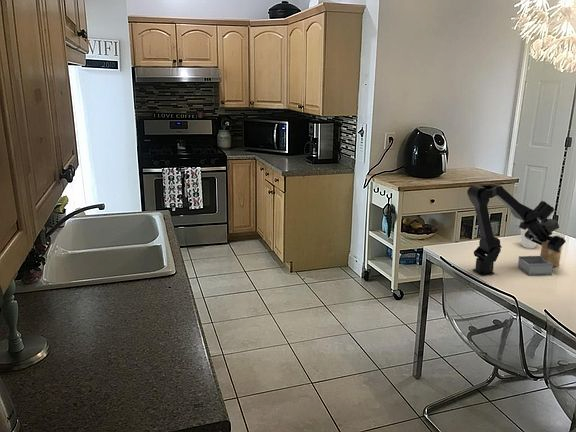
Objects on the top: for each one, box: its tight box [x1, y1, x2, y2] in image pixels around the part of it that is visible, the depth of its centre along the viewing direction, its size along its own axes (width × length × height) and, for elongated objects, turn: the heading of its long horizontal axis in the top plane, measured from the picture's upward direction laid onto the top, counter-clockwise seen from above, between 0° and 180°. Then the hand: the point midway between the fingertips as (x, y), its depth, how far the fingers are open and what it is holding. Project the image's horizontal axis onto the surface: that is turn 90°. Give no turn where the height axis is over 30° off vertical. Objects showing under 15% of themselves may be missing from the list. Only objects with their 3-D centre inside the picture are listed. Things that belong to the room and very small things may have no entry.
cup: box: [520, 228, 538, 249], centre depth 237 cm, size 10×10×11 cm
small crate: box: [539, 235, 563, 267], centre depth 213 cm, size 6×6×12 cm
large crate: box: [517, 255, 554, 277], centre depth 207 cm, size 10×10×5 cm
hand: (553, 249), depth 213 cm, fingers closed on small crate, 6 cm apart
